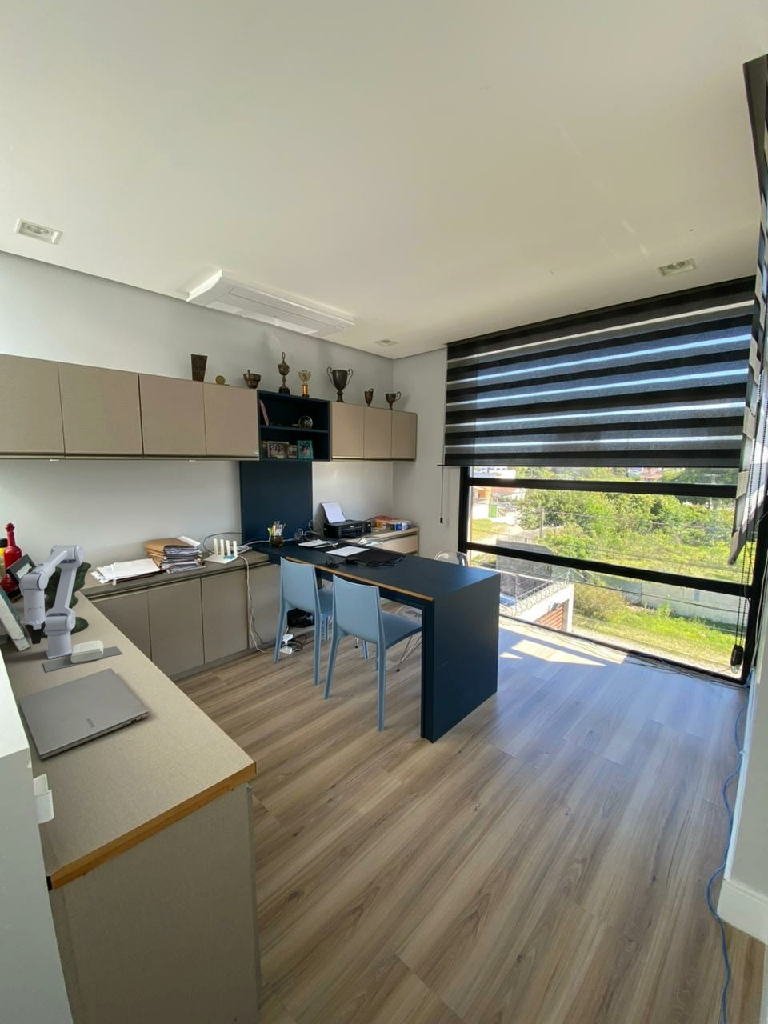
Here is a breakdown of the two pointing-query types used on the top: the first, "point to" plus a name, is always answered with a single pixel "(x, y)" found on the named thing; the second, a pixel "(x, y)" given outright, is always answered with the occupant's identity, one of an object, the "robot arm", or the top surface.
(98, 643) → the photo printer
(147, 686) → the top surface
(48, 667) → the mat
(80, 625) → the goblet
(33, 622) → the robot arm
